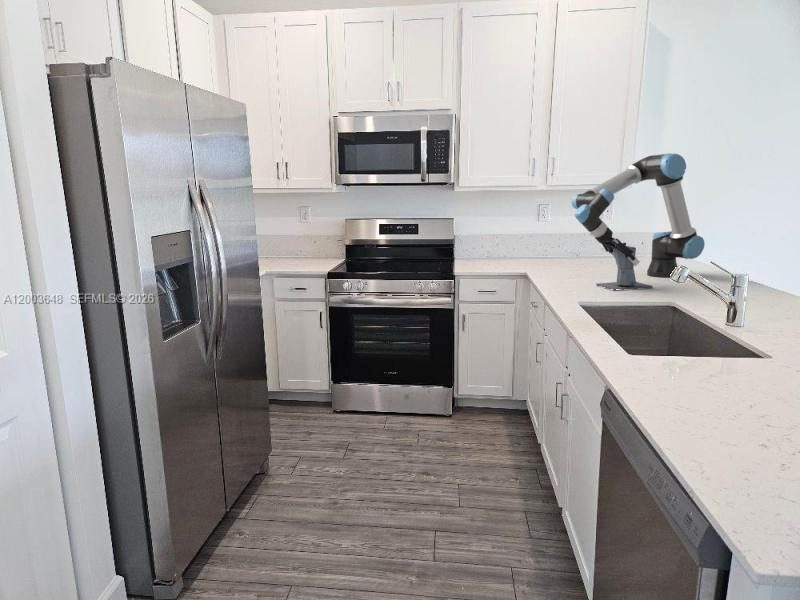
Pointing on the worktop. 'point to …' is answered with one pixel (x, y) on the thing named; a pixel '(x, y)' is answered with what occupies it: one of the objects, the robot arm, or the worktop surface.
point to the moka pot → (625, 268)
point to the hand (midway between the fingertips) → (629, 262)
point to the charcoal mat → (614, 286)
